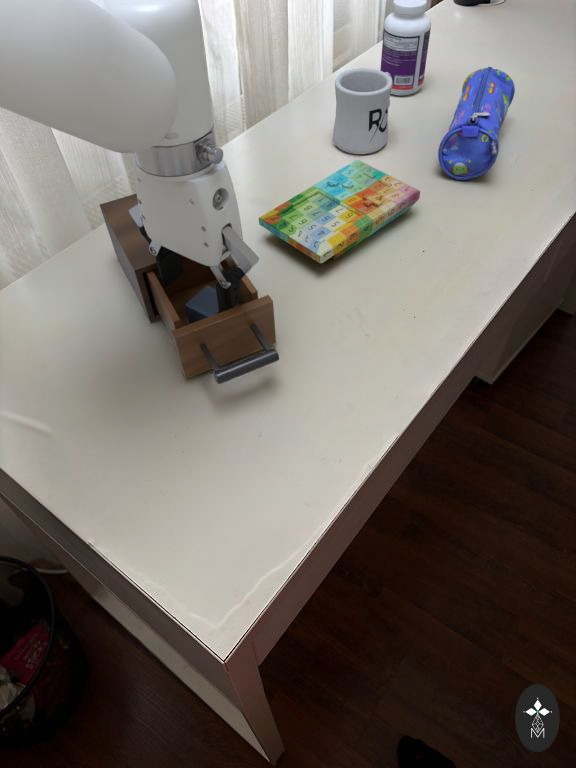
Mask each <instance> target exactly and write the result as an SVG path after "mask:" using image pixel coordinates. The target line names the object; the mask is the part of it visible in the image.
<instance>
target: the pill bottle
mask: <svg viewBox="0 0 576 768" xmlns="http://www.w3.org/2000/svg"><path fill="white" fill-rule="evenodd" d="M392 2H393V3H392V12H390V13H389V14H388V15H387V16H386V18H385V19H384V23H383V24H384V25H383V33H382V45H381V46H382V47H381V56H380V57H381V59H380V68H379V69H380V70H379V71H382V72H384V73H385V72H388V73H390V75H391V77H392V82H393V85H392V90H391V94H390V95H394V96H409V95H412V94H415V93H417V92H418V91H420V90H421V89H422V87H423V86H424V80H425V72H426V66H427V65H426V64H427V59H428V52H429V51H428V50H429V45H430V36H431V29H432V20H431V18H430V16H429V15H428V14H427V13H426V10H427V3H428V2H427V0H393V1H392Z"/></svg>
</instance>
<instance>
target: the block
mask: <svg viewBox="0 0 576 768" xmlns="http://www.w3.org/2000/svg"><path fill="white" fill-rule="evenodd" d="M234 307H235V306H234ZM234 307H233V308H234ZM185 308H186V313H187V317H188V321H189V324H191V323H194V322H197V321H199V320H202V319H205V318H207V317H210V316H213V315H215V314H218V313H220V311H219V306H218V300H217V293H216V289H214V288H212V287H210V286H208V285H207V286H205V287H204V288H203V289H202V290H201V291H200V292H199V293H198V294H196V295H195V296H194V297H193V298H192V299H191V300H190V301H189V302H187V303H186V304H185Z"/></svg>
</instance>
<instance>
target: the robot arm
mask: <svg viewBox="0 0 576 768" xmlns="http://www.w3.org/2000/svg"><path fill="white" fill-rule="evenodd" d="M200 11H201V10H200V5H199V2H198V0H0V108H2V109H4V110H7V111H9V112H11V113H14V114H16V115H19V116H21V117H24V118H26V119H29V120H31V121H34V122H36V123H38V124H41V125H43V126H46V127H49V128H52V129H54V130H56V131H59V132H62V133H64V134H67V135H70V136H71V137H75V138H77V139H80V140H82V141H85V142H86V143H87V142H88V143H89V144H92V145H95V146H97V147H101V148H103V149H105V150H108V151H111V152H114V153H119V154H133V159H132V160H133V175H134V176H133V178H134V186H135V192H136V193H137V199H138V204H137V205H135V206H134V207H132V208H131V209H130V210H129V213H130V215H131V216H132V218H133V219H134V221H135V222H136V224H137V225H138V226H140V233H141V234H142V235H143V236H144V238H145V239H146V240H147V241H148V243H149V244H150V246H149V250H150V252H151V253H152V254H153V255H155V256H156V255H157V257H156V262H157V266H158V270H159V275H160V279H161V283H162V284H163V285H165V286H167V285H170V284H171V283H172V282H173V281H174V280H176V279H177V278H178V277H179V276H180V275H182V274H183V273H184V268H183V263H182V258H181V255H183V256H185V257H187V258H189V259H192V260H194V261H196V262H198V263H201V264H203V265H206V266H209V267H210V268H211V270H212V272H213V273H214V275H215V277H216V278H217V280H218V282H219V283H218V284H217V285H216V293H217V300H218V306H219V311H220V313H221V312H224V311H226V310H229V309H232V308H233V307H234V306H236V305H237V304H238V303H239V302H240V300H241V289H240V280H241V279H242V278H243V277H244V276H245V275H248V273H250V272H251V270H252V269H254V268H255V266H256V265H257V264H258V263H259V262H260V259H259V256H258V255H257V254H256V253H255V251H253V250H252V248H250V247H249V245H248V244H247V243H246V242H245V241H244V237H243V229H242V228H243V227H242V222H241V215H240V210H239V204H238V200H237V195H236V191H235V188H234V184H233V180H232V177H231V173H230V170H229V168H228V166H227V163H226V161H225V160H224V159H223V158H224V150H223V149H222V148H220V147H218V146H217V138H216V130H215V129H216V128H215V119H214V111H213V105H212V95H211V88H210V80H209V79H210V78H209V72H208V63H207V55H206V47H205V40H204V39H205V38H204V32H203V24H202V17H201V12H200ZM136 193H135V194H136ZM223 260H226V261H227V263H228V265H229V266H230V268H231V269H230V270H229V271H228V272H226V273H225V271H224V269H223V268H222V266H221V264H220V263H221V262H222V261H223Z"/></svg>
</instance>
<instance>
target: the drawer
mask: <svg viewBox="0 0 576 768" xmlns="http://www.w3.org/2000/svg"><path fill="white" fill-rule="evenodd" d="M182 263H183V268H184V273H183V274H182V275H180V276H179V277H178V278H177V279H176V280H174V281H173V282H172V283H171V284H170V285H167V286H165V285H163V284H162V283H161V279H160V275H159V270H158V268H156V269H153V270H150V271H147V272H144V274H145V277H146V281H147V284H148V288H149V291H150V294H151V298H152V301H153V304H154V306H155V307H156V309H157V311H158V313H159V315H160V317H161V321H162V323H163V324H164V326H165V328H166V330H167V332H168V334H169V336H170V337H171V340H172V342H173V343H174V346H175V350H176V354H177V357H178V362H179V365H180V370H181V372H182V374H183V377H184V379H186V380H188V379H190V378H193V377H195V376H197V375H200V374H202V373H205V372H207V371H210V370H212V371H213V376H214V379H215V381H216V384H217V385H221V384H224V383H226V382H229V381H231V380H234V379H236V378H239V377H241V376H244V375H246V374H249V373H251V372H253V371H256V370H259V369H261V368H263V367H266V366H268V365H270V364H273V363H276V362H278V361H279V360H280V355H279V352H278V350H277V349H276V348H275V347H273V348H272V347H271V346H273V345H275V344H277V336H276V323H275V309H274V301H273V299H272V298H271V296H270V295H269V294H267V295H264V296H262V297H259V292H258V291H259V290H257V288H256V286H255V285H254V284H253V282H252V281H251V280H250V278H249V277H248V274H246V275H245V276H244V277H243V278H242V279H241V280H240V289H241V300H240V302H239V303H238V304H237V305H236V306H235V307H234V308H232V309H229V310H226V311H224V312H221V313H218V314H215V315H213V316H210V317H207V318H205V319H202V320H199V321H197V322H194V323H191V324H189V321H188V317H187V313H186V308H185V304H186V303H187V302H189V301H190V300H191V299H192V298H193V297H194V296H195V295H196V294H198V293H199V292H200V291H201V290H202V289H203V288H204V287H205V286H207V285H208V286H210V287H212V288H214V289H216V285H217V284H218V283H219V282H218V280H217V278H216V277H215V275H214V273H213V272H212V270H211V268H210V267H209V266H206V265H203V264H201V263H198V262H196V261H194V260H192V259H189V258H185V259H182ZM220 264H221V266H222V268H223V269H224V271H225V273H226V272H228V271H229V270H230V269H231V268H230V266H229V265H228V263H227V261H226V260H223V261H222V262H221V263H220ZM260 350H264V351H263V352H261V353H258V354H255V355H253V356H250V357H248V358H244V357H245V356H249V355H250V354H253V353H256V352H257V351H260ZM242 357H243V358H244V359H242V360H239V361H238V362H235V363H233V364H231V365H228V366H224V367H222V368H220V366H223V365H226V364H227V363H230V362H232V361H235V360H238V359H240V358H242Z"/></svg>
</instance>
